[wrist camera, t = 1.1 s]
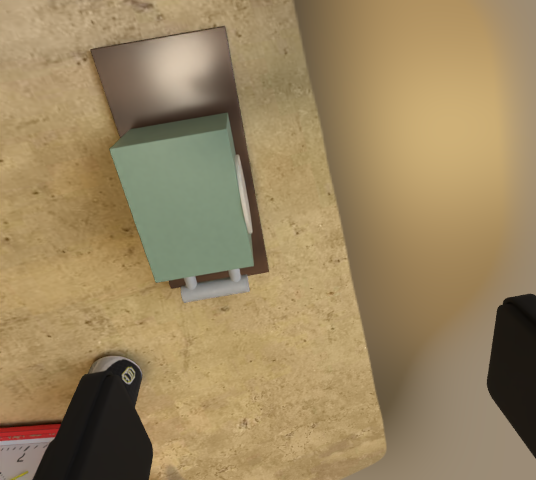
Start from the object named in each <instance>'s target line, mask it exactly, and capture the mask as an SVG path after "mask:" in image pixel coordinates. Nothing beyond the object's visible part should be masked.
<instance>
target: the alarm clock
mask: <svg viewBox="0 0 536 480" xmlns="http://www.w3.org/2000/svg"><path fill="white" fill-rule="evenodd" d="M60 425H61V424H50V425H35V426H21V427H7V428H0V480H32V479H33V477H34V475H35V473H36V470H37V468H38V466H39V464H40V462H41V459H42V457H43V455H44V453H45V450H46V449H47V447H48V445H49V443H50V442H51V441H52V440H53V439H54V438H55V437H56V434H57V432H58V430H59V427H60Z"/></svg>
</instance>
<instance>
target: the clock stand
mask: <svg viewBox="0 0 536 480" xmlns="http://www.w3.org/2000/svg"><path fill="white" fill-rule="evenodd" d="M91 53H92V56H93V59H94V62H95V65H96V68H97V71H98V74H99V77H100V80H101V83H102V86H103V89H104V92H105V95H106V98H107V101H108V104H109V107H110V109H111V112H112V115H113V118H114V121H115V124H116V127H117V130H118V133H119V136H120V138H121V137H122V136H124V135H125V134H126V133H127V132H128V131H129V130H130V129H135V128H141V127H147V126H152V125H158V124H164V123H170V122H176V121H181V120H187V119H193V118H199V117H205V116H210V115H216V114H222V113H228V117H229V122H230V127H231V132H232V137H233V143H234V148H235V153H236V155H239V157H240V161H241V166H242V171H243V176H244V181H245V186H246V192H247V197H248V203H249V209H250V216H251V223H252V233H251V239H252V249H253V260H254V266H251V267H245V268H239V269H240V274H241V275H245V274H247V276H248V275H254V274H260V273H266V272H269V269H268V263H267V258H266V252H265V246H264V241H263V235H262V230H261V224H260V219H259V213H258V207H257V202H256V196H255V191H254V185H253V180H252V174H251V169H250V163H249V157H248V152H247V146H246V141H245V135H244V130H243V124H242V118H241V113H240V107H239V102H238V96H237V91H236V85H235V79H234V74H233V68H232V63H231V57H230V52H229V46H228V40H227V35H226V29H225V26H223V27H217V28H211V29H205V30H199V31H194V32H188V33H182V34H176V35H170V36H165V37H159V38H153V39H147V40H141V41H136V42H130V43H124V44H118V45H113V46H107V47H101V48H95V49H91ZM195 277H196V281H197V283H198V282H204V281H210V280H216V279H222V278H227V277H230V276H229V272H228V270H227V271H222V272H216V273H210V274H204V275H198V276H195ZM169 284H170V287H171V289H173V288H178V287H181V286H182V285H186V284H185V280H184V278H181V279H175V280H169Z"/></svg>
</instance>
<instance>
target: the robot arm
mask: <svg viewBox="0 0 536 480" xmlns="http://www.w3.org/2000/svg"><path fill="white" fill-rule="evenodd" d="M487 387H488V391H489V393H490V395H491V397H492V399H493V400H494V401H495V403H496V404H497V406H498V407H499V408H500V410H501V411H502V412H503V414H504V415H505V416H506V418H507V419H508V421H509V422H510V423H511V425H512V426H513V428H514V429H515V431H516V432H517V433H518V435H519V436H520V437H521V439H522V440H523V441H524V443H525V444H526V446H527V447H528V449H529V450H530V451H531V453H532V454H533V455H534V457H535V458H536V296H535V295H533V294H526V295H520V296H515V297H509V298H506V299H505V300H504V301H503V305H500V306H499V307H498V309H497V315H496V322H495V329H494V336H493V343H492V350H491V357H490V364H489V371H488V377H487ZM152 458H153V448H152V444H151V441H150V439H149V437H148V435H147V433H146V431H145V429H144V426H143V424H142V422H141V420H140V418H139V416H138V414H137V411H136V409H135V407H134V405H133V403H132V401H131V399H130V397H129V394H128V392H127V390H126V388H125V386H124V384H123V382H122V380H121V378H120V376H119V375H113V373H112V372H111V371H109V370H106V371H101V372H95V373H90V374H85V375H84V376H82V378H81V380H80V382H79V384H78V386H77V389H76V391H75V393H74V396H73V398H72V400H71V402H70V405H69V407H68V409H67V412H66V414H65V416H64V418H63V421H62V423H61V425H60V427H59V430H58V432H57V434H56V437H55V438H54V439H53V440H52V441H51V442H50V443H49V445H48V447H47V449H46V450H45V453H44V455H43V457H42V459H41V462H40V464H39V466H38V468H37V470H36V473H35V475H34V477H33V479H32V480H149V475H150V469H151V464H152Z"/></svg>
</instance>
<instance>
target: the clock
mask: <svg viewBox="0 0 536 480" xmlns="http://www.w3.org/2000/svg"><path fill="white" fill-rule="evenodd" d="M109 150H110V153H111V156H112V159H113V161H114V164H115V167H116V170H117V173H118V176H119V179H120V181H121V184H122V187H123V190H124V193H125V196H126V199H127V201H128V204H129V207H130V210H131V213H132V216H133V219H134V222H135V224H136V227H137V230H138V233H139V236H140V239H141V242H142V244H143V247H144V250H145V253H146V256H147V259H148V262H149V265H150V267H151V270H152V273H153V276H154V279H155V282H156V283H158V282H163V281H169V280H175V279H181V278H184V280H185V284H186V285H182V286H181V296H182V300H183V302H184V303H186V302H192V301H198V300H204V299H209V298H215V297H221V296H227V295H233V294H238V293H244V292H249V291H250V290H249V282H248V277H247V274H245V275H241V274H240V269H239V268H245V267H251V266H254V260H253V249H252V239H251V233H252V223H251V216H250V209H249V203H248V197H247V192H246V186H245V181H244V176H243V171H242V166H241V161H240V157H239V155H236V153H235V148H234V143H233V137H232V132H231V127H230V122H229V117H228V113H222V114H216V115H210V116H205V117H199V118H193V119H187V120H181V121H176V122H170V123H164V124H158V125H152V126H147V127H141V128H135V129H130V130H129V131H128V132H127V133H126V134H125V135H124V136H122V137H121V138H120V139H119V140H118V141H117V142H116V143H115V144H114V145H113V146H112V147H111V148H110V149H109ZM227 270H228V272H229V276H230V277H227V278H222V279H216V280H210V281H204V282H198V283H197V281H196V277H195V276H198V275H204V274H210V273H216V272H222V271H227Z"/></svg>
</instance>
